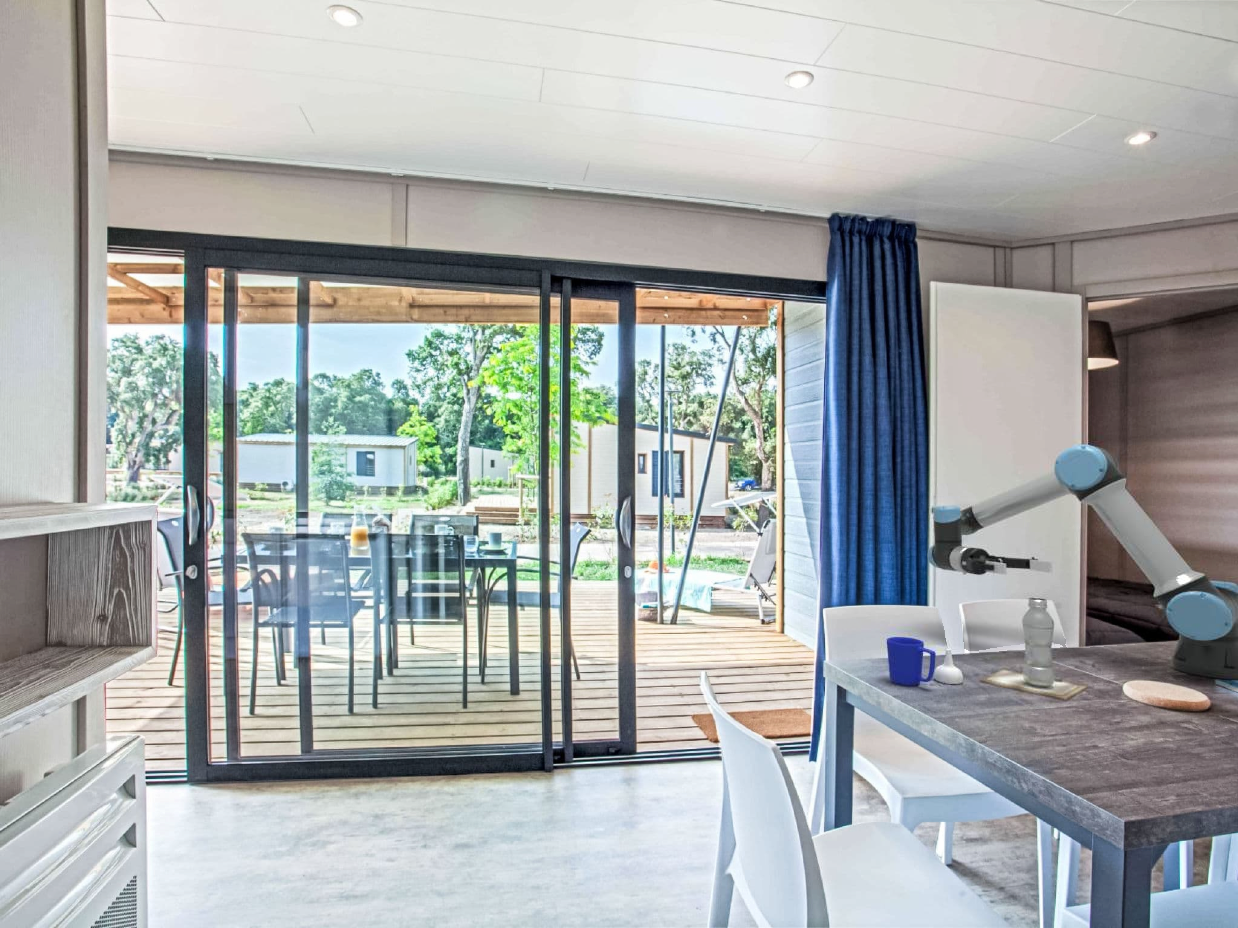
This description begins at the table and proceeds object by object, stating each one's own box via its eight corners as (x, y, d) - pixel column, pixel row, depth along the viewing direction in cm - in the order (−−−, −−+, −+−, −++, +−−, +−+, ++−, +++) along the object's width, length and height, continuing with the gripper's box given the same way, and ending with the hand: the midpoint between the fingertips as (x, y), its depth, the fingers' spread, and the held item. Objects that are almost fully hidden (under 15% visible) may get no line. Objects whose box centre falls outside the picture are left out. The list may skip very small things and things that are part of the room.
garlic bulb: (928, 682, 164) (926, 649, 164) (945, 676, 167) (942, 643, 167) (952, 688, 159) (950, 655, 158) (969, 682, 162) (966, 649, 162)
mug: (922, 694, 152) (921, 649, 153) (879, 680, 163) (879, 638, 163) (946, 689, 156) (946, 645, 157) (903, 676, 167) (902, 635, 167)
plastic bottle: (1045, 681, 160) (1044, 596, 161) (1061, 690, 153) (1060, 601, 154) (1017, 680, 161) (1015, 596, 161) (1031, 689, 154) (1030, 601, 155)
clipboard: (1086, 688, 157) (1086, 682, 157) (1065, 700, 148) (1065, 694, 148) (1003, 671, 171) (1003, 666, 171) (979, 681, 162) (979, 676, 162)
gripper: (1009, 571, 198) (1069, 580, 177) (932, 575, 194) (986, 584, 173) (1008, 546, 199) (1068, 552, 178) (931, 548, 194) (984, 555, 173)
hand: (1028, 568), depth 175 cm, fingers open, 13 cm apart
